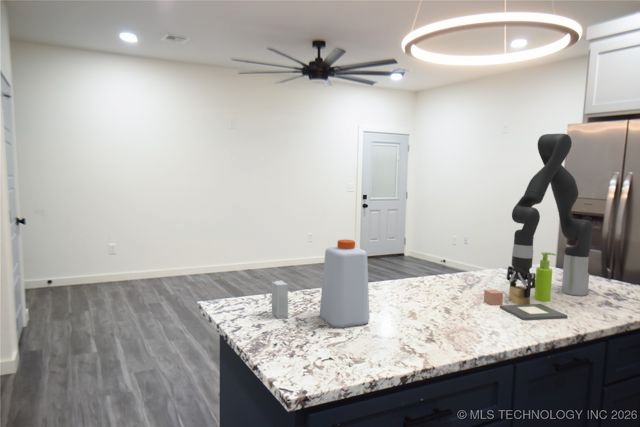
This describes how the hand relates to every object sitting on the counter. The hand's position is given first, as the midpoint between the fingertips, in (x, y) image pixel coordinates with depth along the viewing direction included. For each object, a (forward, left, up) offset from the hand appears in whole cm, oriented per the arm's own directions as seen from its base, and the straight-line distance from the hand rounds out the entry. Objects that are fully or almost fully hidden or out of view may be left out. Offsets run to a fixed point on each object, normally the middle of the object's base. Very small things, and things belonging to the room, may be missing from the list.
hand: (519, 294), depth 169 cm
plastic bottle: (+77, +11, -3) cm, 78 cm away
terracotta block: (+12, 0, -3) cm, 12 cm away
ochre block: (0, 0, -3) cm, 3 cm away
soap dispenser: (-13, -2, -3) cm, 14 cm away
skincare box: (+99, +4, -3) cm, 99 cm away
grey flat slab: (+4, +13, -3) cm, 14 cm away
